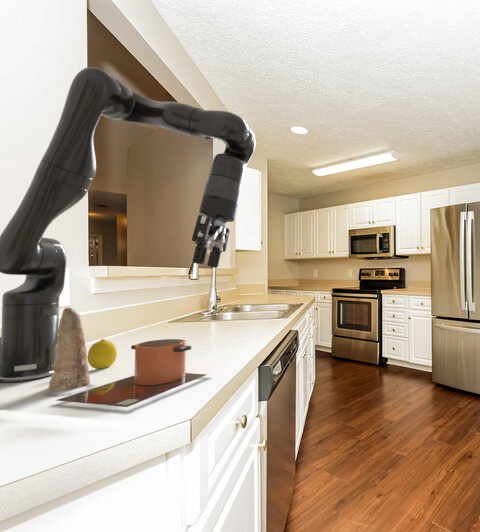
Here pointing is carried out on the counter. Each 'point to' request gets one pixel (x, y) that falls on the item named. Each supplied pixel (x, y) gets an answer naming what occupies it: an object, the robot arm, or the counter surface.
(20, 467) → the counter surface
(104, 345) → the lemon
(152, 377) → the pot
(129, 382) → the hob
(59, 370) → the tapered standing stone
